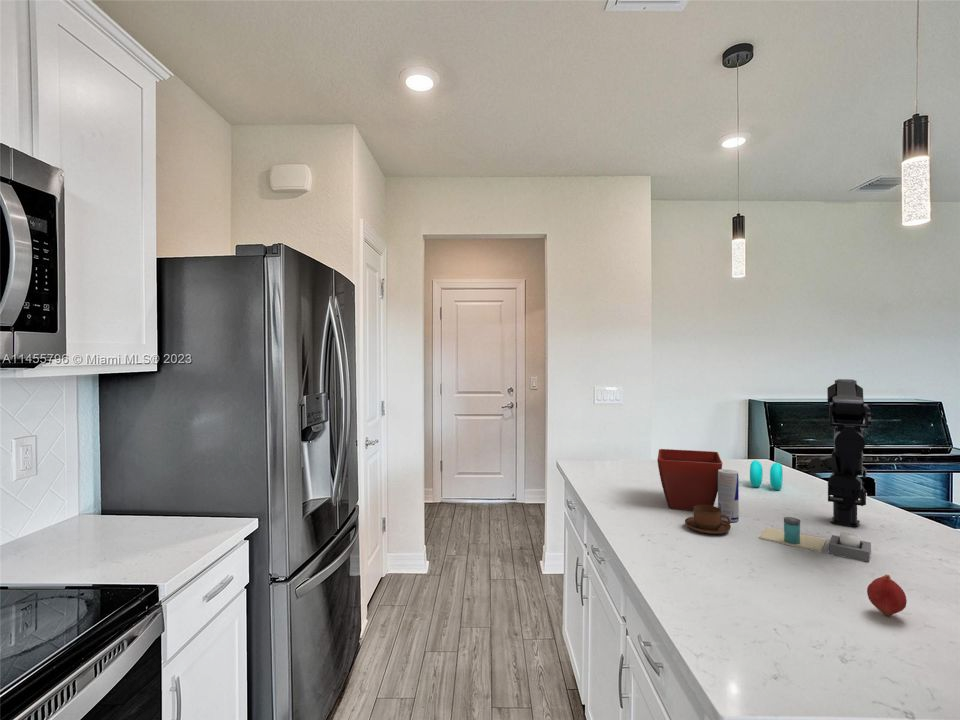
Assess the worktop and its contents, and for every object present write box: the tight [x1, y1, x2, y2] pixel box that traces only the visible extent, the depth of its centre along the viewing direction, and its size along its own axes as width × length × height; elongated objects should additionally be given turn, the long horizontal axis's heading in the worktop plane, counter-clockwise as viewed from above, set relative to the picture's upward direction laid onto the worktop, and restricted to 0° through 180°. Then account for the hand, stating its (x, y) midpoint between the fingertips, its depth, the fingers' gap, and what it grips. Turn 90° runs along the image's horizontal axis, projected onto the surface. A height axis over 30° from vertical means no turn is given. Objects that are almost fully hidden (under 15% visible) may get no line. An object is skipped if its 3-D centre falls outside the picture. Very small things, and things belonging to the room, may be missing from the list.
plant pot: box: [657, 448, 723, 512], centre depth 162 cm, size 19×19×17 cm
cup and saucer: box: [684, 505, 732, 535], centre depth 139 cm, size 12×12×6 cm
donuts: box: [749, 460, 784, 491], centre depth 182 cm, size 10×10×10 cm
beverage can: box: [717, 468, 740, 523], centre depth 147 cm, size 6×6×15 cm
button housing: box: [827, 534, 872, 563], centre depth 122 cm, size 8×8×2 cm
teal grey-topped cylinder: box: [783, 516, 801, 544], centre depth 129 cm, size 4×4×6 cm
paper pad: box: [758, 526, 827, 553], centre depth 131 cm, size 10×14×1 cm
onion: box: [866, 573, 907, 617], centre depth 93 cm, size 6×6×8 cm
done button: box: [839, 532, 861, 548], centre depth 122 cm, size 4×4×3 cm
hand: (848, 509), depth 122 cm, fingers closed
